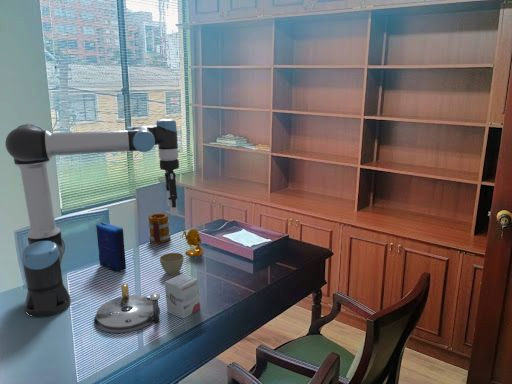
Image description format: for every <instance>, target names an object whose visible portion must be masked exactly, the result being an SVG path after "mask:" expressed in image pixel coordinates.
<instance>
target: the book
mask: <svg viewBox="0 0 512 384" xmlns="http://www.w3.org/2000/svg"><path fill="white" fill-rule="evenodd" d="M95 228H96V236H97V247H98V261H99V265H100V266H101V267H103V268H105V269H108V270H111V271H113V272H118V273H120V272H123V271H125V270H126V269H127V263H126V252H125V251H126V249H125V238H124V237H125V236H124V235H125V234H124V229H123V227H122V226H117V225H114V224H111V223H107V222H104V221H103V222H99V223H96V226H95Z"/></svg>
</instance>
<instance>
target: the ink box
mask: <svg viewBox="0 0 512 384" xmlns="http://www.w3.org/2000/svg"><path fill="white" fill-rule="evenodd" d="M164 289H165V299H166V310H167V313H170V314H171V315H174V316H176V317H179V318H181V319H184V318H186V317H188V316H190V315H191V314H193V313H196V311H198V310H200V309H201V304H200V303H201V302H200V288H199V279H198V278H195V277H193V276H190V275H187V274H185V273H180V274H179V275H178V274H177V275H175V276H173V278H172V277H171V278H170V279H167V280H166V281H164Z"/></svg>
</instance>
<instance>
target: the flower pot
mask: <svg viewBox="0 0 512 384" xmlns="http://www.w3.org/2000/svg"><path fill="white" fill-rule="evenodd" d="M184 257H185V256H184V254H182V253H179V252H168V253H164V254H162V255H160V257H159V262H160V265H161V267H162V269H163V270H164V272H165V273H166V274H167V275H168V276H174V275H175V276H177V275H178V274H179V273H180V272H181V269H182V266H183V264H184V259H185V258H184Z"/></svg>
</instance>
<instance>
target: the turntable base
mask: <svg viewBox="0 0 512 384" xmlns="http://www.w3.org/2000/svg"><path fill="white" fill-rule="evenodd" d="M160 298H161V295H160V294H159V293H151V294H150V295H148V296H147V300H150V301H153V313H154V317H153V318H152V319H151V320H149V321H148V322H146V323H144V324H142V325H139V326H137V327H133V328H128V329H109V328H105V327H103V326H101V325H100V324H99V323H98V321H97V313H96V314H95V316H94V319H93V321H94V322H93V323H94V326H95V328H96V329H98V330H99V331H101V332H104V333H107V334H127V333H133V332H136V331H139V330H142V329H145V328H146V327H148V326H151V325H152V324H160V321H161V320H160V313H161V310H160V306H159V300H160Z"/></svg>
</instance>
